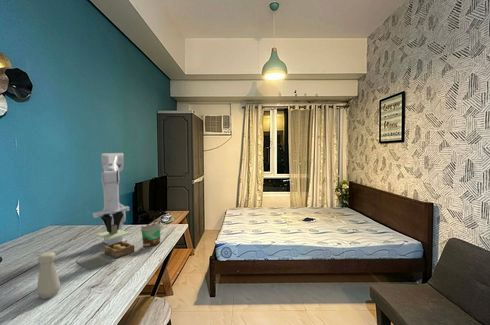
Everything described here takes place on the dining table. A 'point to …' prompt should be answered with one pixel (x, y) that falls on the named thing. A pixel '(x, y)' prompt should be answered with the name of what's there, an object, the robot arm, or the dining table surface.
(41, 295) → the salt shaker
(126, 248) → the box
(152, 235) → the food container
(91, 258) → the mat
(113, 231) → the lid
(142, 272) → the dining table surface
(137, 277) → the dining table surface
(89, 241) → the dining table surface
